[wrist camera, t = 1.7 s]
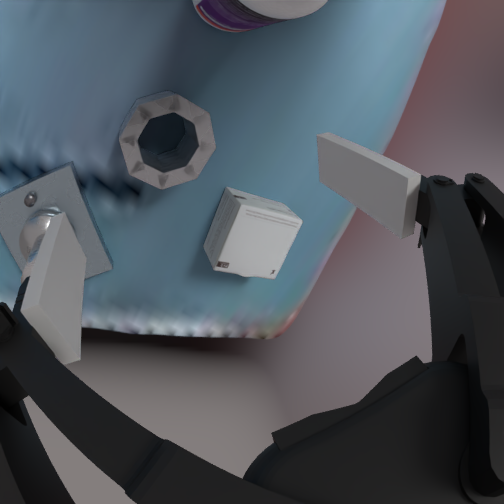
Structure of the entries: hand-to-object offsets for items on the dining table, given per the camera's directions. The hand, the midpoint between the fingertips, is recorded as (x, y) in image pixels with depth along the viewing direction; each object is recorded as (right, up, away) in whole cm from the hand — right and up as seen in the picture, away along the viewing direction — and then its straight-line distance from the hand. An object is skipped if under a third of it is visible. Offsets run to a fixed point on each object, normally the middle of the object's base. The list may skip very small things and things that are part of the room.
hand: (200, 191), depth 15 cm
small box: (+1, 0, +22) cm, 22 cm away
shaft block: (-18, -1, +13) cm, 23 cm away
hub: (-6, +9, +13) cm, 17 cm away
